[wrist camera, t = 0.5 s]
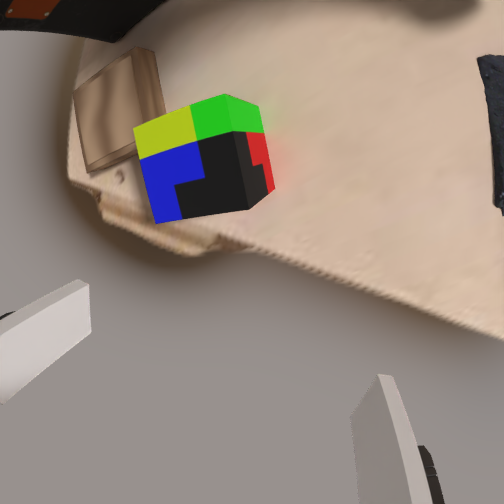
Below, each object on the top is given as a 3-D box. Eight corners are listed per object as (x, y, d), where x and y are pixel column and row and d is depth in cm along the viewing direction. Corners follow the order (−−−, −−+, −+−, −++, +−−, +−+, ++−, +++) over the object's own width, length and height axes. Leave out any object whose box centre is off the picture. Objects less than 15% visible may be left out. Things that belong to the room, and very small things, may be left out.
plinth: (154, 52, 28) (134, 46, 24) (172, 140, 32) (153, 141, 29) (90, 92, 33) (71, 92, 29) (105, 168, 37) (85, 173, 34)
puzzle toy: (200, 200, 35) (155, 223, 26) (184, 127, 31) (133, 128, 23) (275, 188, 31) (249, 209, 23) (258, 106, 28) (224, 93, 19)
